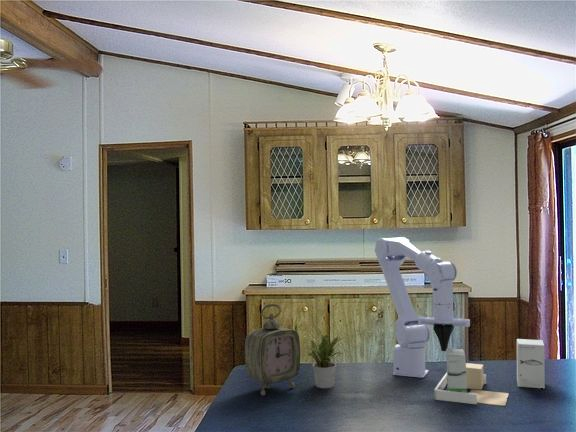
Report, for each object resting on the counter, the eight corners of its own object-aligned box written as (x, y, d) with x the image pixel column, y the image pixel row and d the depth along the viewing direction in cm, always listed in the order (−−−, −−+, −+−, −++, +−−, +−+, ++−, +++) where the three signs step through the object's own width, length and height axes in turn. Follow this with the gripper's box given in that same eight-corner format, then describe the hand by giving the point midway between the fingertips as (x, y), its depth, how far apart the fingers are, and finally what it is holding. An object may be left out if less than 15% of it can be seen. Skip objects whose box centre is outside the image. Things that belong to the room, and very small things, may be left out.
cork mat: (465, 401, 163) (465, 401, 163) (471, 390, 173) (471, 389, 173) (505, 406, 158) (505, 405, 158) (508, 394, 168) (508, 393, 168)
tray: (434, 399, 165) (433, 389, 165) (447, 379, 183) (447, 370, 183) (476, 404, 160) (476, 394, 160) (486, 383, 179) (485, 374, 179)
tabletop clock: (261, 399, 168) (259, 308, 168) (242, 391, 175) (240, 305, 175) (301, 388, 177) (299, 302, 177) (281, 381, 184) (280, 299, 184)
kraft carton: (463, 388, 175) (462, 367, 175) (465, 383, 180) (465, 363, 179) (481, 389, 173) (481, 368, 173) (483, 385, 177) (483, 364, 177)
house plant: (360, 390, 174) (359, 333, 174) (316, 396, 169) (315, 338, 169) (338, 377, 188) (337, 324, 187) (297, 383, 183) (296, 328, 182)
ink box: (468, 399, 164) (465, 355, 164) (449, 398, 165) (447, 355, 165) (465, 389, 173) (463, 347, 173) (447, 389, 174) (445, 347, 174)
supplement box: (517, 387, 174) (517, 343, 174) (516, 380, 181) (516, 338, 181) (545, 389, 172) (544, 345, 172) (543, 382, 179) (542, 339, 179)
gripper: (415, 304, 176) (416, 351, 176) (466, 306, 170) (468, 355, 170) (420, 301, 182) (421, 346, 182) (470, 302, 176) (471, 349, 176)
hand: (444, 350), depth 177 cm, fingers closed
